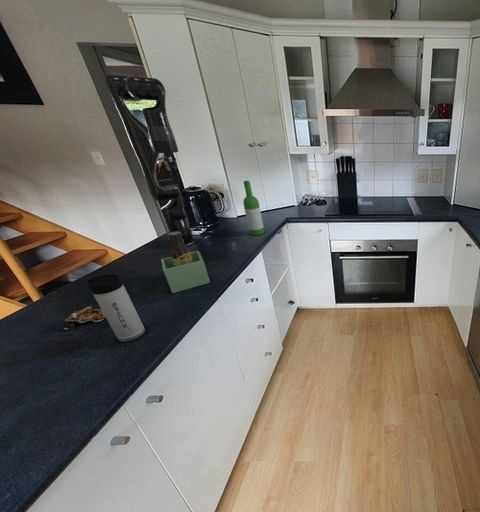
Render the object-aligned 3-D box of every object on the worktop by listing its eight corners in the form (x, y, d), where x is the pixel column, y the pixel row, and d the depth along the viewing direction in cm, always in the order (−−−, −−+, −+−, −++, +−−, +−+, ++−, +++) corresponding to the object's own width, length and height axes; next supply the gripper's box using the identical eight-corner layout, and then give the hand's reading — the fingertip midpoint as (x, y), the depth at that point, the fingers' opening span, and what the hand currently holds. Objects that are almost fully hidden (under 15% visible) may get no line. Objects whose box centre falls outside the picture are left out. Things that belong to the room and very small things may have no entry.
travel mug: (127, 328, 85) (98, 272, 76) (150, 327, 85) (123, 272, 77) (111, 342, 79) (78, 284, 71) (135, 341, 80) (105, 283, 71)
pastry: (115, 317, 90) (110, 308, 88) (63, 331, 83) (56, 322, 82) (118, 306, 95) (113, 298, 93) (69, 319, 88) (63, 310, 87)
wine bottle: (258, 236, 154) (246, 183, 140) (247, 235, 156) (235, 181, 143) (267, 232, 160) (257, 180, 147) (256, 230, 162) (246, 179, 149)
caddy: (169, 280, 110) (160, 259, 106) (205, 271, 118) (198, 250, 113) (172, 293, 102) (163, 270, 98) (210, 282, 110) (203, 260, 105)
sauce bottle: (189, 284, 106) (172, 237, 98) (175, 282, 107) (158, 235, 99) (202, 276, 112) (187, 231, 103) (189, 274, 113) (173, 229, 104)
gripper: (149, 138, 106) (164, 180, 113) (151, 140, 96) (167, 186, 103) (173, 138, 110) (185, 178, 118) (176, 139, 101) (190, 184, 108)
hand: (176, 182), depth 111 cm, fingers open, 8 cm apart
